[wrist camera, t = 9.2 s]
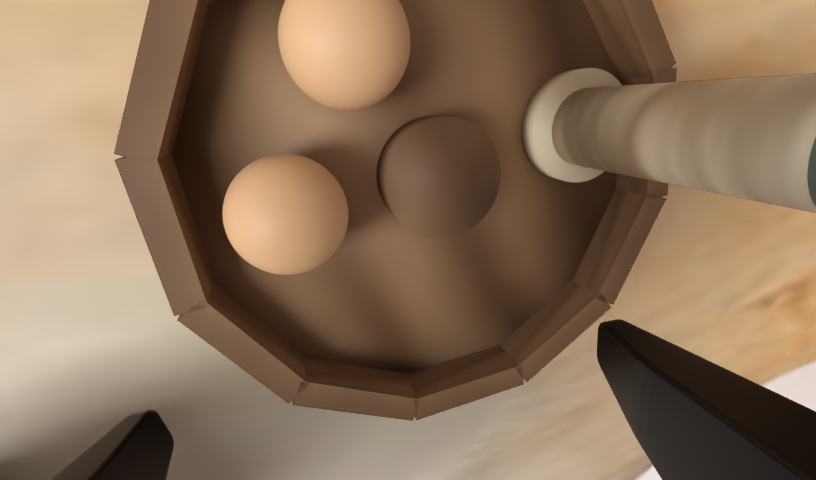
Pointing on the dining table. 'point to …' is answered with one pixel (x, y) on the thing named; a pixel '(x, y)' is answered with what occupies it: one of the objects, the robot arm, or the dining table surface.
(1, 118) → the dining table surface
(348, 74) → the loose bead
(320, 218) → the loose bead
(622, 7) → the walnut tray
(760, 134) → the bead post
